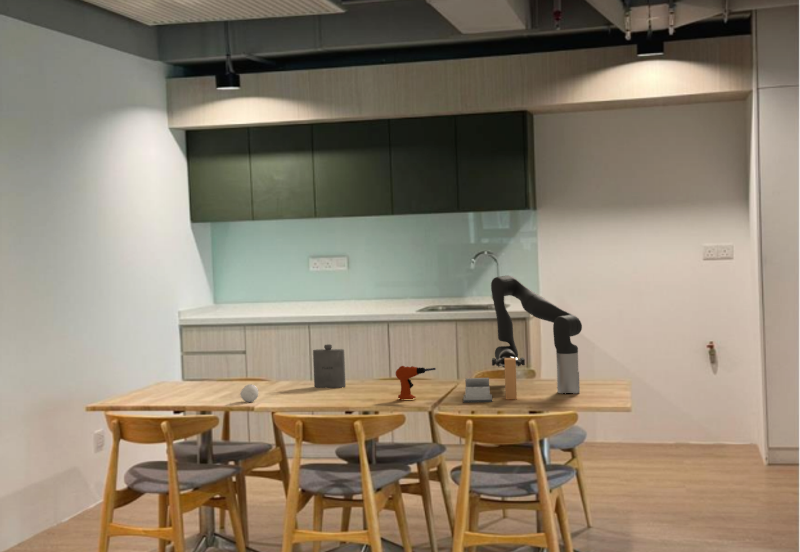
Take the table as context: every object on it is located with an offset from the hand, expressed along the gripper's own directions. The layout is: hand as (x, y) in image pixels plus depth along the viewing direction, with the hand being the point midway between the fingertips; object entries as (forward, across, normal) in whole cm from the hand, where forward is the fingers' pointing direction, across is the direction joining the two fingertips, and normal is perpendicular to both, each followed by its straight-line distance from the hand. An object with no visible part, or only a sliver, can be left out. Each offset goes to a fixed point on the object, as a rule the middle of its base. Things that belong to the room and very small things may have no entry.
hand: (508, 364), depth 459 cm
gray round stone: (+4, -113, +15) cm, 114 cm away
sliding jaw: (+7, -14, +12) cm, 19 cm away
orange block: (+12, 0, +13) cm, 17 cm away
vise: (+12, -14, +13) cm, 22 cm away
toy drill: (+9, -40, +14) cm, 43 cm away
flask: (-33, -83, +15) cm, 90 cm away
